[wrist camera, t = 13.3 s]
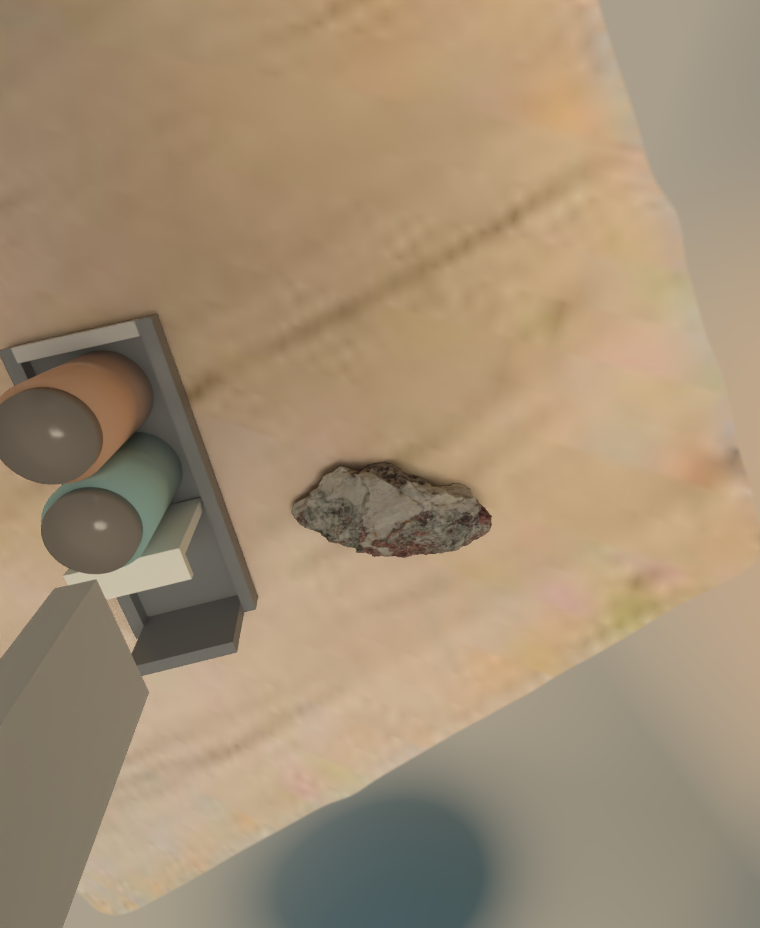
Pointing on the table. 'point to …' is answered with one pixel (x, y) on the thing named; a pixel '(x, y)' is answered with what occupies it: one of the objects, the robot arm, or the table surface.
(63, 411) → the jar terracotta
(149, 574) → the pusher
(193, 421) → the lane
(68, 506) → the jar teal
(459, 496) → the mineral rock
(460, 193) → the table surface
